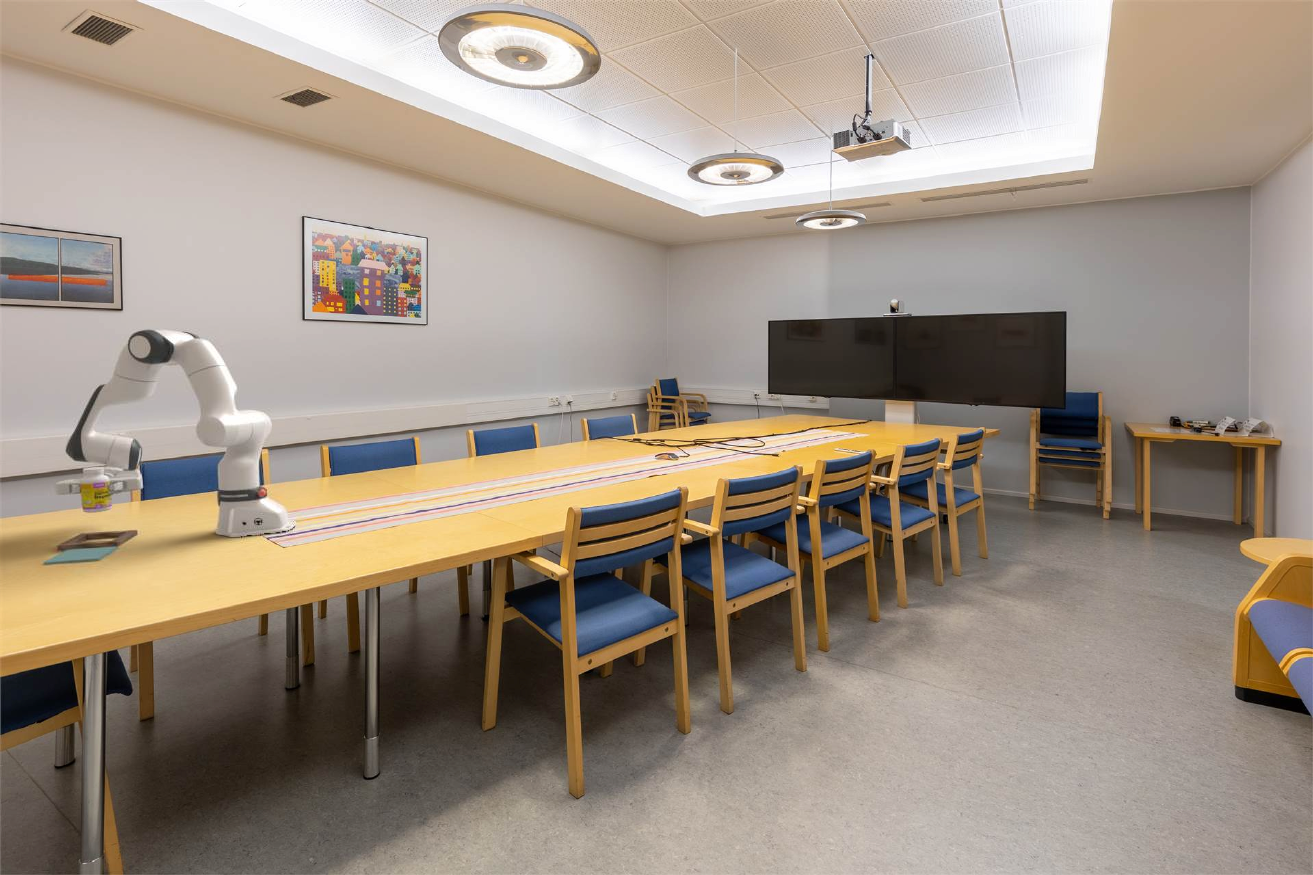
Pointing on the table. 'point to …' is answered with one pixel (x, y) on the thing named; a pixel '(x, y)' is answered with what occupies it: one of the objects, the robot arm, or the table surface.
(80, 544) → the brown wooden square frame
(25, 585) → the table surface
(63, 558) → the teal mat
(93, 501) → the supplement bottle
